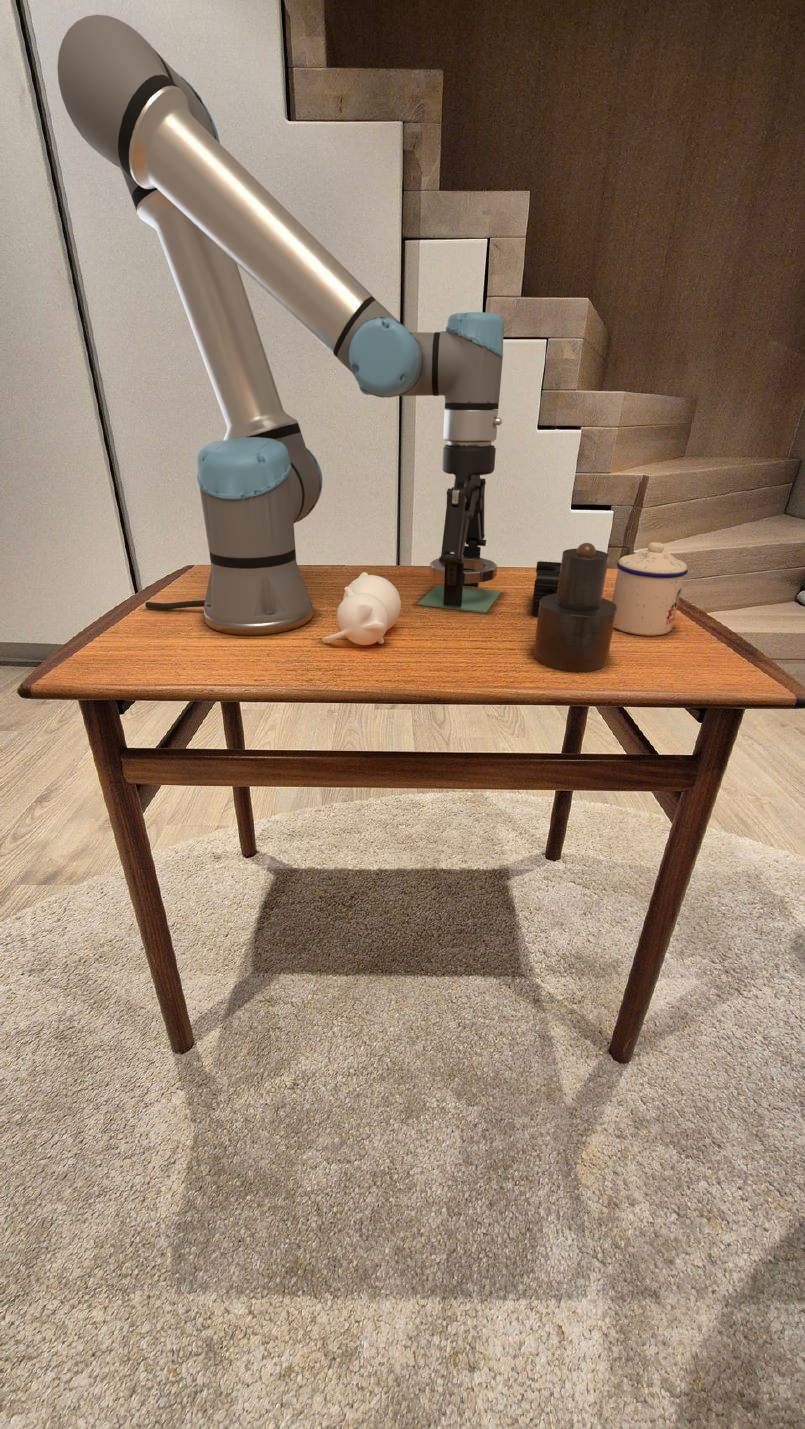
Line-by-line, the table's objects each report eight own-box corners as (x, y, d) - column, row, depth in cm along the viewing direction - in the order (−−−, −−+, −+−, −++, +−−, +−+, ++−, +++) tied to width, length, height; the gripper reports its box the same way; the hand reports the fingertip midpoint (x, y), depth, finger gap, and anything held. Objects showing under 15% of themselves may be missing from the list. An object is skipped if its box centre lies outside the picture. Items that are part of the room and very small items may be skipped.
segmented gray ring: (422, 579, 91) (422, 569, 91) (440, 563, 100) (441, 554, 99) (487, 586, 88) (488, 575, 88) (501, 569, 97) (502, 559, 96)
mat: (417, 605, 93) (417, 603, 93) (437, 586, 102) (437, 584, 102) (486, 613, 90) (486, 611, 90) (501, 593, 99) (501, 591, 99)
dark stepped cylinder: (528, 666, 73) (542, 548, 66) (538, 640, 80) (552, 532, 74) (604, 677, 70) (627, 555, 63) (608, 649, 78) (629, 538, 71)
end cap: (581, 621, 87) (588, 575, 84) (531, 617, 88) (537, 572, 85) (577, 601, 96) (584, 558, 93) (532, 597, 97) (537, 555, 94)
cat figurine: (364, 581, 70) (384, 554, 81) (295, 622, 75) (322, 591, 85) (403, 642, 74) (417, 608, 84) (335, 678, 78) (356, 641, 88)
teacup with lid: (680, 639, 81) (701, 553, 76) (610, 634, 82) (626, 549, 77) (661, 611, 92) (679, 533, 86) (600, 607, 93) (614, 531, 87)
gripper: (477, 450, 75) (466, 620, 85) (510, 439, 94) (498, 579, 104) (419, 448, 77) (417, 614, 87) (463, 437, 96) (457, 575, 106)
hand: (461, 595), depth 96 cm, fingers closed on segmented gray ring, 10 cm apart
